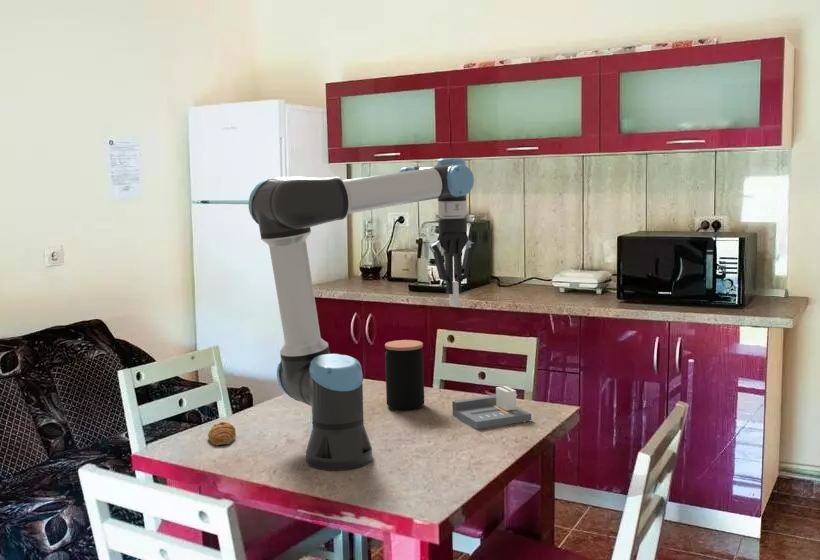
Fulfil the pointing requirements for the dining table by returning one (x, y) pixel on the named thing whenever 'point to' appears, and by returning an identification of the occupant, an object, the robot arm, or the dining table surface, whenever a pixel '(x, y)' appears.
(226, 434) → the pastry
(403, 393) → the coffee jar
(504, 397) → the fader
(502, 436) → the dining table surface
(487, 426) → the grey slider base
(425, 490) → the dining table surface
